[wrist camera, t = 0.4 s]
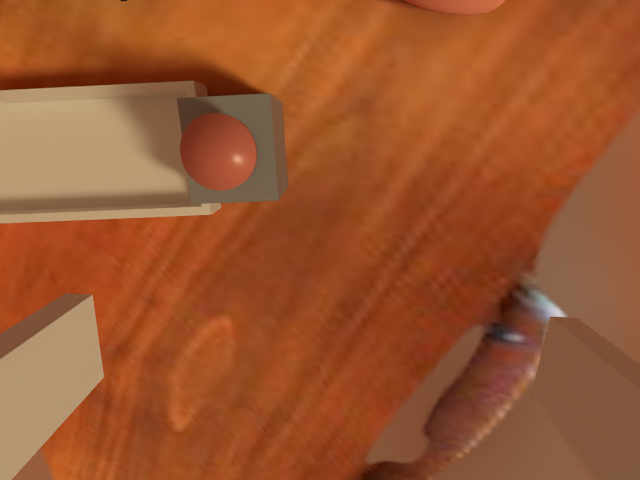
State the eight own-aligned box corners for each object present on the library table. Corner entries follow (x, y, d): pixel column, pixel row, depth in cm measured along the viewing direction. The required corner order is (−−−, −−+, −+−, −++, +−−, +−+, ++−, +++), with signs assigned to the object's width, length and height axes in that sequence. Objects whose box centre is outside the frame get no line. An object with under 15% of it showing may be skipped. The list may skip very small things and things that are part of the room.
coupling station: (-59, 99, 35) (-228, 83, 24) (280, 82, 34) (260, 58, 24) (-23, 217, 38) (-159, 249, 28) (289, 204, 38) (274, 232, 27)
